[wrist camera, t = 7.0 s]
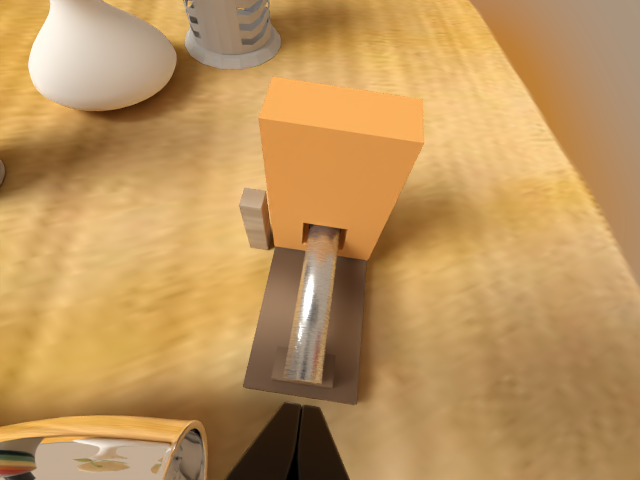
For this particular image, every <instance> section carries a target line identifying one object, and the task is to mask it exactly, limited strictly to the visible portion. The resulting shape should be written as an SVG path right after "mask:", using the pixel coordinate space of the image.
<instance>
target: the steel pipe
mask: <svg viewBox="0 0 640 480" xmlns="http://www.w3.org/2000/svg"><path fill="white" fill-rule="evenodd" d="M340 233H341V228H335V227H328V226H322V225H315V224H309V234H308V240H307V245H306V251H305V257H304V262H303V268H302V273H301V279H300V285H299V290H298V296H297V301H296V307H295V313H294V318H293V324H292V330H291V335H290V341H289V346H288V352H287V358H286V363H285V369H284V375H283V379H286V380H290V381H295V382H301V383H308V384H322V376H323V368H324V360H325V352H326V343H327V335H328V327H329V319H330V311H331V303H332V294H333V286H334V278H335V270H336V262H337V254H338V245H339V237H340Z"/></svg>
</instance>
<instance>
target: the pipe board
mask: <svg viewBox="0 0 640 480" xmlns="http://www.w3.org/2000/svg"><path fill="white" fill-rule="evenodd" d="M239 207H240V211H241V214H242V218H243V222H244V225H245V229H246V233H247V236H248V240H249V244H250V247H251V248H258V249H264V250H268V248H269V244H270V240H271V235H272V234H271V226H270V219H269V212H268V204H267V197H266V191H262V190H256V189H249V188H244V191H243V194H242V197H241V201H240V204H239ZM304 257H305V251H303V250H297V249H290V248H284V247H277V246H275V250H274V255H273V259H272V263H271V268H270V272H269V276H268V281H267V285H266V289H265V294H264V298H263V302H262V307H261V311H260V315H259V320H258V324H257V328H256V333H255V337H254V341H253V345H252V350H251V354H250V358H249V363H248V367H247V371H246V376H245V380H244V384H243V387H245V388H249V389H256V390H262V391H268V392H275V393H281V394H288V395H294V396H300V397H307V398H313V399H320V400H326V401H333V402H339V403H345V404H352V405H356V404H357V392H358V378H359V364H360V349H361V335H362V321H363V307H364V293H365V279H366V265H367V260H362V259H355V258H349V257H342V256H337V262H336V270H335V278H334V286H333V294H332V303H331V311H330V319H329V327H328V335H327V343H326V352H325V360H324V368H323V376H322V384H308V383H301V382H295V381H290V380H286V379H283V375H284V369H285V363H286V358H287V352H288V346H289V341H290V335H291V330H292V324H293V318H294V313H295V307H296V301H297V296H298V290H299V285H300V279H301V273H302V268H303V262H304Z"/></svg>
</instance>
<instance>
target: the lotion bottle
mask: <svg viewBox="0 0 640 480" xmlns="http://www.w3.org/2000/svg"><path fill="white" fill-rule="evenodd" d="M4 175H5V168H4V164H3V163H2V161H1V160H0V185H1V183H2V181H3V179H4Z"/></svg>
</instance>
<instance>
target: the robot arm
mask: <svg viewBox="0 0 640 480" xmlns="http://www.w3.org/2000/svg"><path fill="white" fill-rule="evenodd" d="M224 480H350V479H349V476H348V474H347V471H346V469H345V466H344V464H343V462H342V459H341V457H340V454H339V452H338V450H337V447H336V445H335V442H334V440H333V437H332V435H331V433H330V430H329V428H328V425H327V423H326V420H325V418H324V416H323V413H322V411H321V409H320V408H319V407H316V406H310V405H303V406H302V408H301V405H300V404H297V403H290V402H284V403H283V404H282V405H281V406H280V407H279V409H278V410H277V411H276V413H275V414H274V415H273V416H272V418H271V419H270V420H269V422H268V423H267V424H266V426H265V427H264V428H263V429H262V431H261V432H260V433H259V435H258V436H257V437H256V439H255V440H254V441H253V443H252V444H251V445H250V446H249V448H248V449H247V450H246V452H245V453H244V454H243V456H242V457H241V458H240V459H239V461H238V462H237V463H236V465H235V466H234V467H233V469H232V470H231V471H230V472H229V474H228V475H227V476H226V478H225V479H224Z"/></svg>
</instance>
